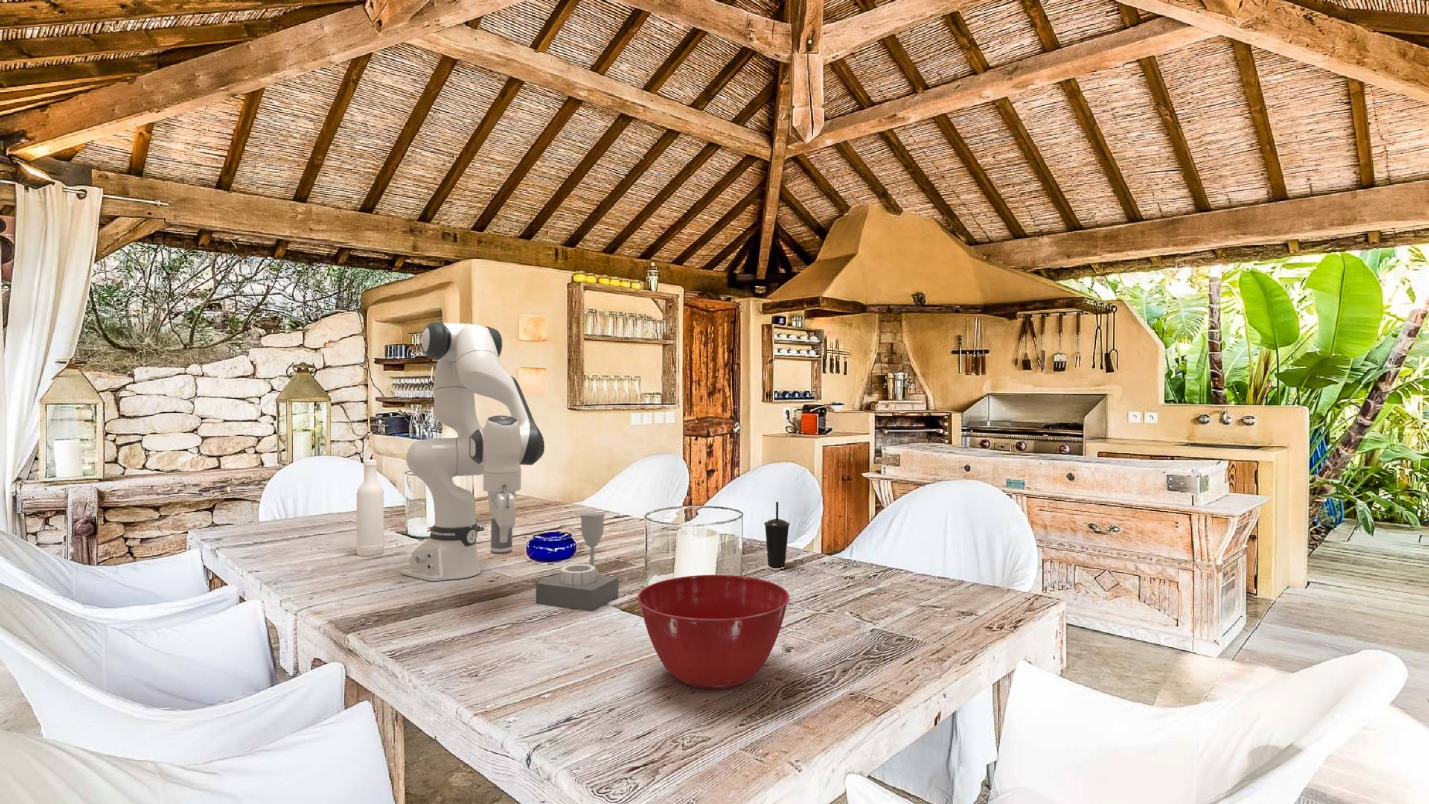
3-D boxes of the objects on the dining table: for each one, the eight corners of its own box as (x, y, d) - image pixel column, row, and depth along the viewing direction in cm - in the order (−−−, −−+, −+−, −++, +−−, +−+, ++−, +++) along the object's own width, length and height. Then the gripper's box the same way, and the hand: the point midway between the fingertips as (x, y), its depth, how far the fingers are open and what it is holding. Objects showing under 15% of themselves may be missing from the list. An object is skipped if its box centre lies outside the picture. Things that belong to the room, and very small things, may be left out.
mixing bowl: (667, 720, 117) (668, 625, 116) (618, 659, 143) (619, 581, 142) (817, 692, 128) (818, 606, 128) (746, 640, 154) (747, 568, 154)
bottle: (350, 555, 227) (350, 460, 227) (366, 550, 235) (366, 458, 234) (373, 557, 226) (373, 461, 225) (389, 551, 234) (389, 459, 233)
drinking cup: (790, 571, 212) (791, 504, 212) (764, 571, 212) (765, 503, 212) (788, 565, 220) (788, 500, 219) (763, 565, 220) (763, 499, 219)
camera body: (536, 603, 179) (536, 571, 179) (565, 589, 191) (565, 559, 191) (591, 611, 173) (592, 577, 173) (618, 596, 185) (618, 565, 185)
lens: (486, 553, 175) (486, 519, 174) (499, 548, 180) (500, 516, 179) (503, 555, 173) (503, 522, 173) (516, 550, 178) (517, 518, 177)
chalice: (607, 575, 207) (608, 512, 206) (601, 581, 200) (602, 516, 200) (582, 574, 207) (583, 511, 207) (576, 580, 201) (576, 515, 200)
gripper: (521, 488, 167) (521, 547, 168) (509, 476, 186) (509, 529, 187) (493, 490, 165) (493, 549, 165) (484, 477, 184) (484, 531, 184)
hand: (501, 539), depth 176 cm, fingers closed on lens, 5 cm apart
